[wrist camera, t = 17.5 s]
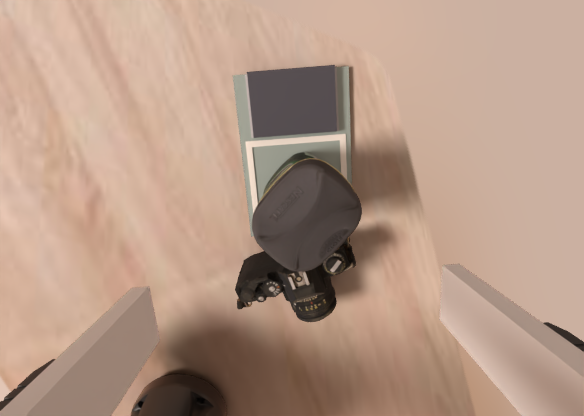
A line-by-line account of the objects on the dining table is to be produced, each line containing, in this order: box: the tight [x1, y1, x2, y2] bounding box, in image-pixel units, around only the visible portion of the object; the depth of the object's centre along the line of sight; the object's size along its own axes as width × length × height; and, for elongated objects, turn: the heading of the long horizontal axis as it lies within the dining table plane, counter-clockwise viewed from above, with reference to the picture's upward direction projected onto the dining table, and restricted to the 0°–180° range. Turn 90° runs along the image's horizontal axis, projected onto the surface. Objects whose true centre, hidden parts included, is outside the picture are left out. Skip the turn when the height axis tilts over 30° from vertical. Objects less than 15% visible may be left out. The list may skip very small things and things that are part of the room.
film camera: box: [235, 237, 356, 322], centre depth 39 cm, size 18×12×10 cm
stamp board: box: [233, 66, 352, 236], centre depth 40 cm, size 15×22×1 cm
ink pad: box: [245, 65, 339, 138], centre depth 37 cm, size 12×8×1 cm
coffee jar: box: [252, 152, 362, 272], centre depth 31 cm, size 10×8×19 cm
